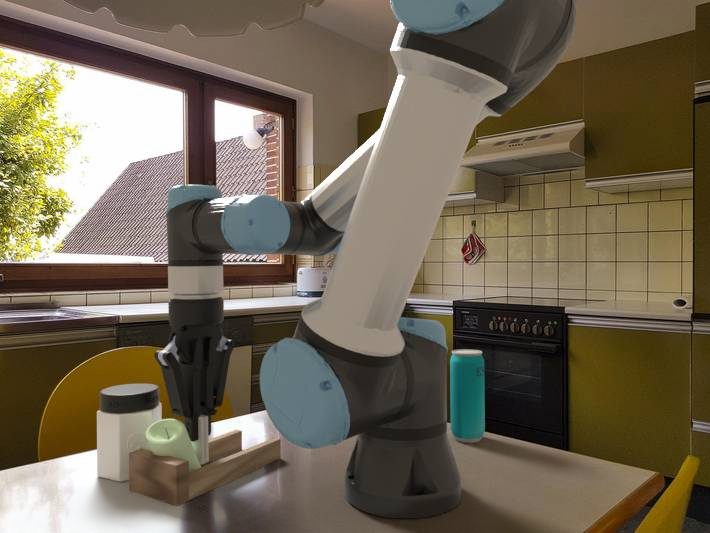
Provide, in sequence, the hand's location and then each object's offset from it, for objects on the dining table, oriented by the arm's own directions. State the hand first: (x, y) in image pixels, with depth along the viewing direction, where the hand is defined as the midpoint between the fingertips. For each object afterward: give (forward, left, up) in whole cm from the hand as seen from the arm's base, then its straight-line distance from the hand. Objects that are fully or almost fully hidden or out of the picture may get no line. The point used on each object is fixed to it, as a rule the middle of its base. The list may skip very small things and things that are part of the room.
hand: (198, 460), depth 79 cm
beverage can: (-27, -36, -2) cm, 45 cm away
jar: (+10, +4, -2) cm, 11 cm away
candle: (0, +3, -1) cm, 3 cm away
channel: (-1, -3, -2) cm, 3 cm away
